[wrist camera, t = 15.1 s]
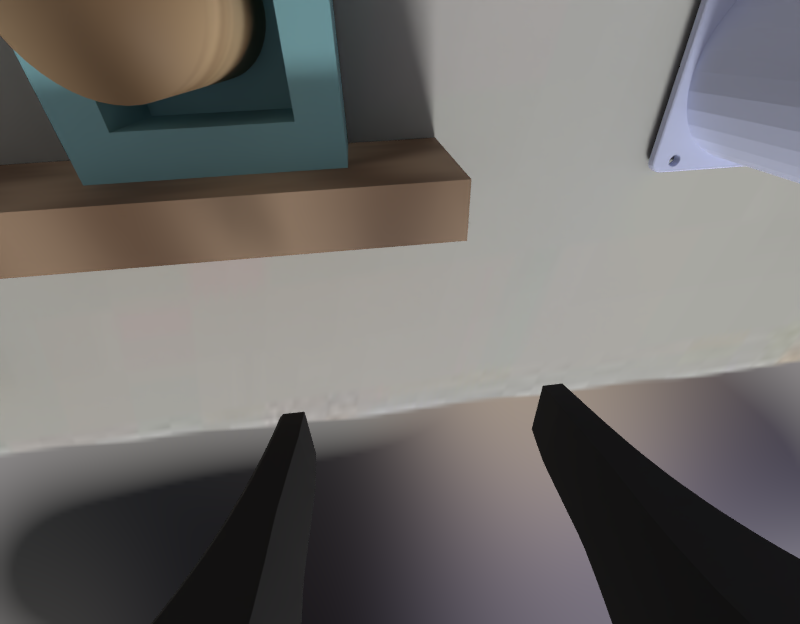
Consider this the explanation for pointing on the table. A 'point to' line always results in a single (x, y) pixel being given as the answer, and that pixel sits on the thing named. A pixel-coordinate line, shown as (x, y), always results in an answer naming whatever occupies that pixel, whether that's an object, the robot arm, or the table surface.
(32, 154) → the table surface
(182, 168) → the socket block
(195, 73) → the dowel
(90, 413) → the table surface
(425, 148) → the wall
